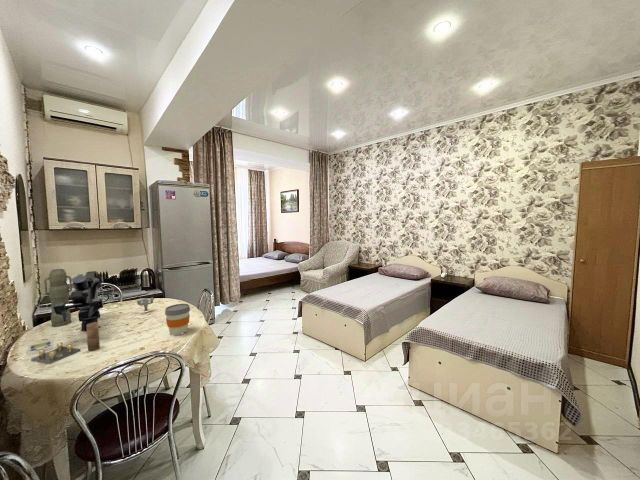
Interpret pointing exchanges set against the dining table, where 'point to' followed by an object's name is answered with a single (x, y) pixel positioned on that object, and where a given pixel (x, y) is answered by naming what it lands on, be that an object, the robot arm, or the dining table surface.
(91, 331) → the walnut post
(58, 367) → the dining table surface
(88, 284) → the robot arm
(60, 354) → the chassis plate
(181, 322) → the reusable coffee cup
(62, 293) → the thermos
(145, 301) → the mechanical component
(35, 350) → the handheld gaming device
